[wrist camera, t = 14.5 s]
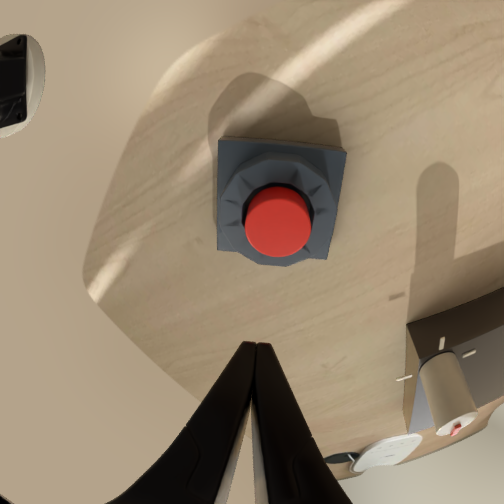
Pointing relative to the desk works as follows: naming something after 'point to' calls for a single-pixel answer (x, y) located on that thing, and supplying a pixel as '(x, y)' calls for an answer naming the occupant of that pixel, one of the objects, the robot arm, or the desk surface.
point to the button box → (270, 175)
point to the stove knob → (447, 394)
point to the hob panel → (463, 346)
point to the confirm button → (277, 222)
